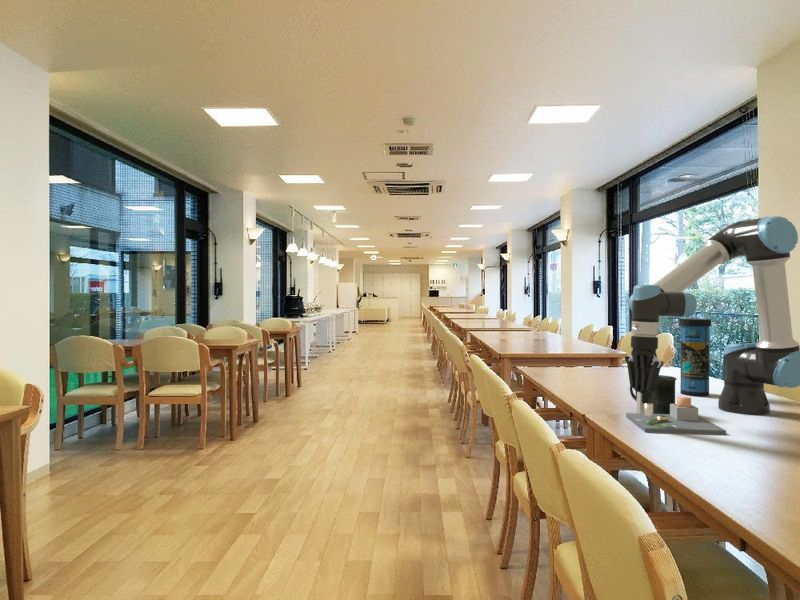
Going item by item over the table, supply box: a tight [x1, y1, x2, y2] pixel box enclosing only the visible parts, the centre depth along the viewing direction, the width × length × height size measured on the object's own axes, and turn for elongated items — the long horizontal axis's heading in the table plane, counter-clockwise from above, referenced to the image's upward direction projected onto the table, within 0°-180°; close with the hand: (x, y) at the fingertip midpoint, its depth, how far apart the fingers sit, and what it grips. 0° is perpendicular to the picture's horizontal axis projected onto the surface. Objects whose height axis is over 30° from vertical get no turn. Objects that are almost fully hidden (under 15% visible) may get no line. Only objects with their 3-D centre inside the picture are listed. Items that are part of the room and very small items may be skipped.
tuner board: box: [625, 403, 727, 436], centre depth 168 cm, size 22×20×5 cm
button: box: [676, 396, 692, 408], centre depth 172 cm, size 4×4×5 cm
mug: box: [629, 374, 677, 414], centre depth 187 cm, size 11×15×12 cm
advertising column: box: [678, 317, 712, 398], centre depth 219 cm, size 11×11×30 cm
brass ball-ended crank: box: [644, 403, 668, 425], centre depth 166 cm, size 11×3×6 cm, turn 127°
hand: (641, 413), depth 166 cm, fingers closed
